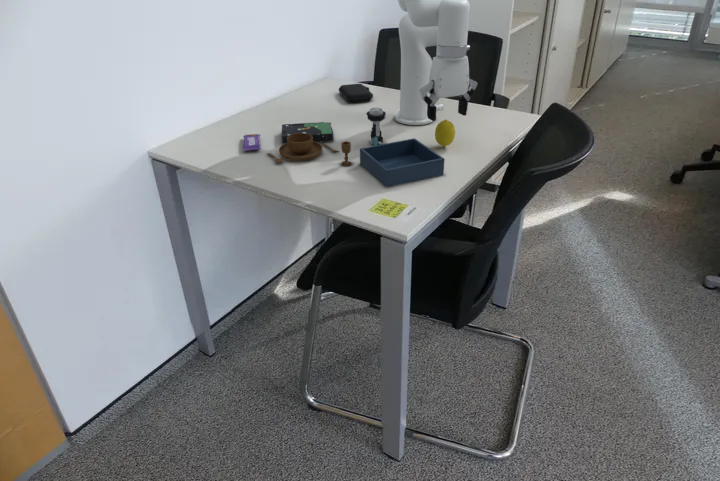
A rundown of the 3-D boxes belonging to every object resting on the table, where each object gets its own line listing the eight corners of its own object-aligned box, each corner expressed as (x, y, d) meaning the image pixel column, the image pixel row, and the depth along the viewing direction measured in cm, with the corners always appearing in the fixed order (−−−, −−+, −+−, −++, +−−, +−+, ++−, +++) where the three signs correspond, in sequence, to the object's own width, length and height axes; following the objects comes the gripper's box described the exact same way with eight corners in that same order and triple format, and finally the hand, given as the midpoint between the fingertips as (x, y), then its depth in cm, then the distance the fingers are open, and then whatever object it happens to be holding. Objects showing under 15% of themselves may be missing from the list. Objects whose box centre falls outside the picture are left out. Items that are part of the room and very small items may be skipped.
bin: (413, 153, 148) (414, 138, 146) (443, 175, 136) (444, 158, 134) (360, 164, 143) (359, 148, 140) (386, 187, 131) (386, 170, 128)
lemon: (442, 141, 155) (444, 114, 151) (457, 147, 152) (460, 119, 148) (430, 147, 152) (431, 119, 148) (445, 152, 149) (447, 124, 144)
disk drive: (282, 145, 154) (334, 142, 156) (281, 136, 153) (333, 132, 154) (282, 133, 163) (331, 129, 165) (281, 124, 162) (330, 120, 163)
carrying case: (377, 101, 187) (365, 89, 199) (377, 93, 185) (365, 81, 198) (347, 104, 185) (337, 92, 197) (347, 95, 183) (337, 84, 195)
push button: (389, 147, 152) (390, 113, 147) (371, 150, 151) (371, 115, 145) (381, 139, 157) (382, 105, 152) (364, 141, 156) (364, 107, 151)
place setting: (319, 140, 157) (318, 121, 154) (355, 164, 143) (355, 143, 140) (263, 153, 149) (261, 133, 146) (296, 180, 135) (294, 158, 132)
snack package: (260, 146, 149) (242, 147, 148) (261, 152, 150) (243, 154, 150) (260, 131, 159) (242, 132, 158) (260, 137, 160) (243, 138, 159)
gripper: (471, 45, 144) (466, 108, 153) (414, 52, 138) (412, 117, 147) (488, 50, 138) (481, 116, 147) (429, 58, 132) (426, 125, 141)
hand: (447, 116), depth 147 cm, fingers open, 9 cm apart
